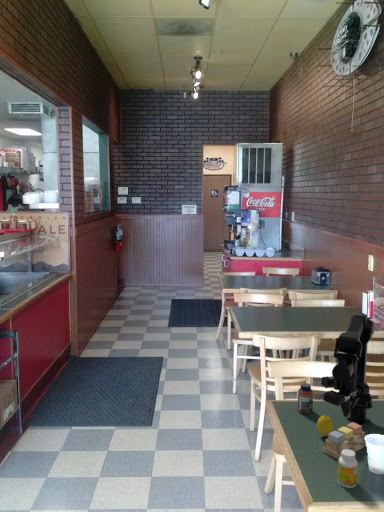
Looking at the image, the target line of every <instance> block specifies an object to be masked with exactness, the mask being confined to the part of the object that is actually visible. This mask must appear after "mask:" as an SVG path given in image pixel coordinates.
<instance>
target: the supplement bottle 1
mask: <svg viewBox="0 0 384 512" xmlns="http://www.w3.org/2000/svg"><path fill="white" fill-rule="evenodd" d="M313 408H314V391H313V389H312V386H311V384H310V383H307V382H301V383H300V388H299V389H298V390H297V412H299V413H300V414H305V415H307V414H308V415H309V414H312V413H313V410H314V409H313Z"/></svg>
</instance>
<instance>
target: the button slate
mask: <svg viewBox="0 0 384 512" xmlns="http://www.w3.org/2000/svg"><path fill="white" fill-rule="evenodd" d="M327 439H328V441H330V442H332V443H334V444H336V445H339V444H341V443H343V442H344V434H341V433H339V432H338V430H337V431H336V430H332V432H331V433H329V434H328V438H327Z"/></svg>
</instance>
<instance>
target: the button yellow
mask: <svg viewBox="0 0 384 512" xmlns="http://www.w3.org/2000/svg"><path fill="white" fill-rule="evenodd" d="M337 432H339V433H341V434H344V439H345V440H348V439H350V438H352V437H353V430H351V429H349V428H347V426H344V425H343V426H340V428H337Z"/></svg>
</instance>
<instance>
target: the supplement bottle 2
mask: <svg viewBox="0 0 384 512" xmlns="http://www.w3.org/2000/svg"><path fill="white" fill-rule="evenodd" d="M337 467H338V469H337V483H338V484H339V485H340V486H341V487H344V488H348V489H352V488H355V487H356V486H357V482H358V480H357V478H358V461H357V459H356V452H354V451H352V450H349V449H344V450H342V451H341V457H340V458H339V460H338V466H337Z"/></svg>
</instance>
